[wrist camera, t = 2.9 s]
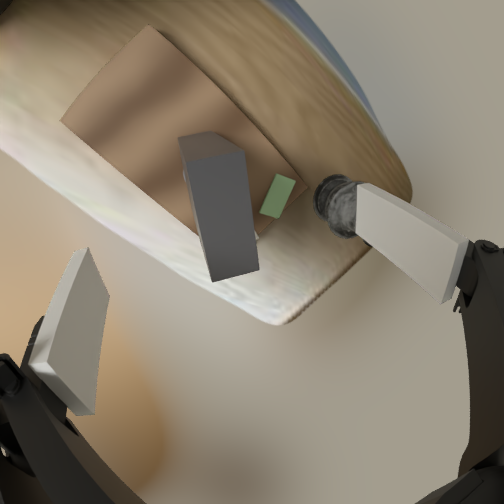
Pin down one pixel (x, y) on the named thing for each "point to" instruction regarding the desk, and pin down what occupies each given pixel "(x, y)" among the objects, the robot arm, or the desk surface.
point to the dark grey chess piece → (338, 205)
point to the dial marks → (276, 197)
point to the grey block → (220, 203)
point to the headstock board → (168, 125)
